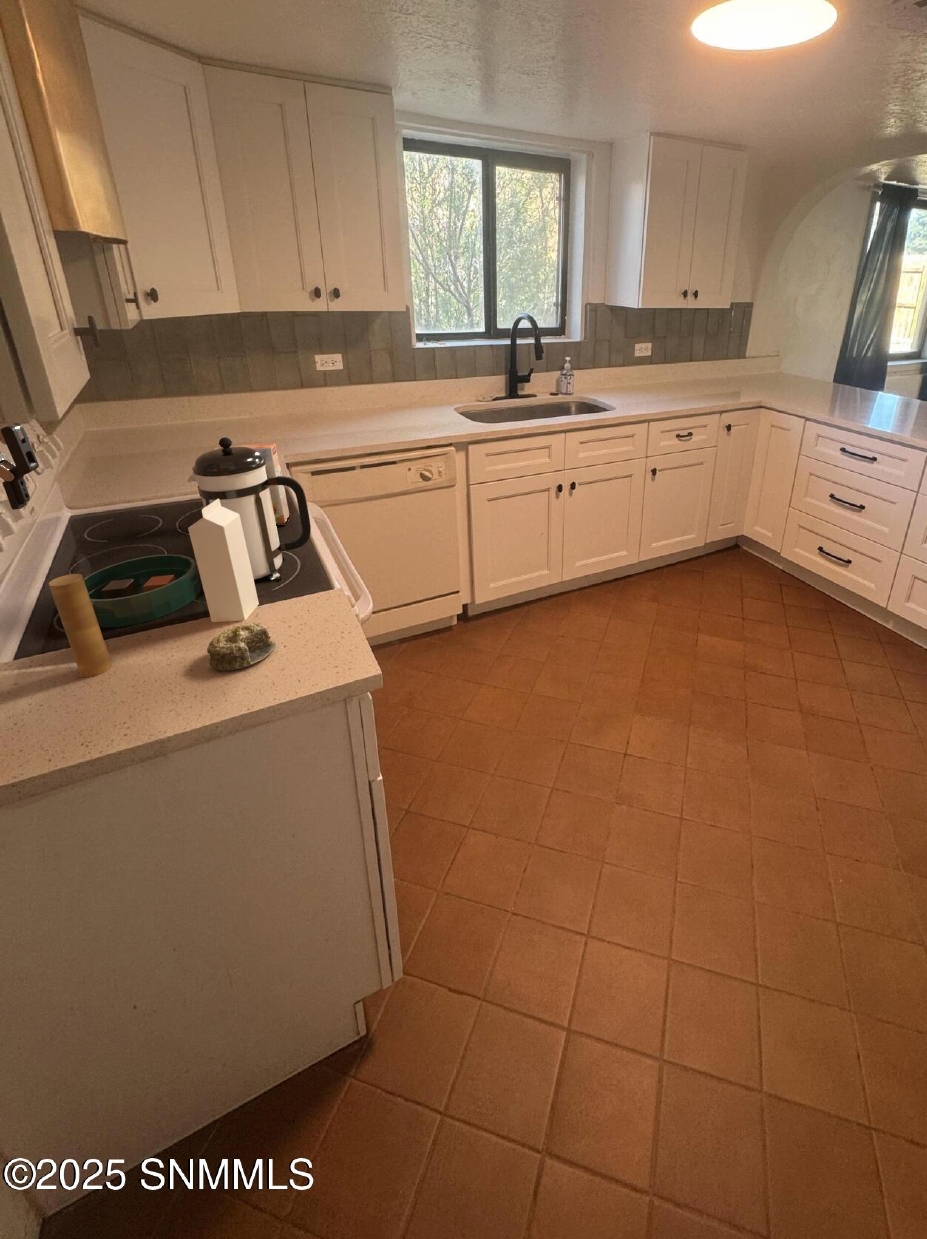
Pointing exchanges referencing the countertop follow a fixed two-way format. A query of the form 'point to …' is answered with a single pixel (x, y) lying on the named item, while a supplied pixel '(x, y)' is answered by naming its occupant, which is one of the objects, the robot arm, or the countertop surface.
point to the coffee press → (249, 502)
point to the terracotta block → (158, 582)
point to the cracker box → (273, 471)
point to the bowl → (143, 603)
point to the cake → (240, 647)
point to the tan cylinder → (80, 624)
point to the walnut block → (120, 589)
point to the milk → (223, 564)
